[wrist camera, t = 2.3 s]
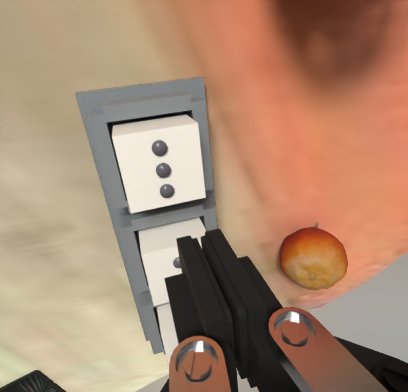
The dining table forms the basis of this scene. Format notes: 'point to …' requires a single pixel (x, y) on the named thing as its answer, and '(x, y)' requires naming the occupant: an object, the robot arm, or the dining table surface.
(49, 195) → the dining table surface
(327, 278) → the fruit
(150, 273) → the two dot tile
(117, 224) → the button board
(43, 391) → the smartphone
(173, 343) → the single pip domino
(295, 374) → the robot arm
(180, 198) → the three dot tile
